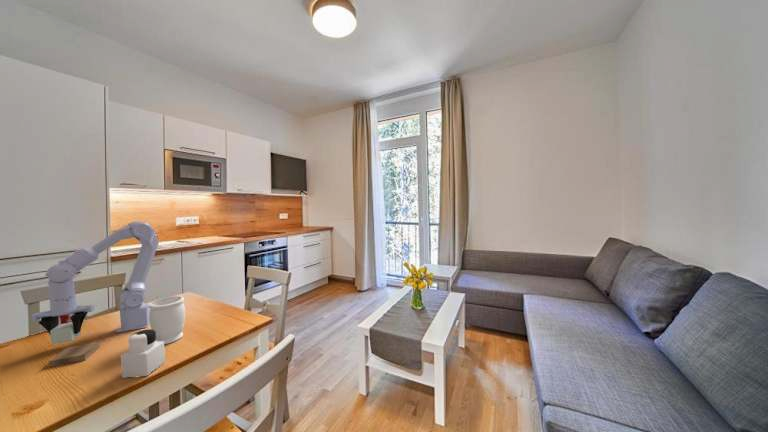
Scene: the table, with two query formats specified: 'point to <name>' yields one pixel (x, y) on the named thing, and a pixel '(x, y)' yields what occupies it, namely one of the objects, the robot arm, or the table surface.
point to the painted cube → (63, 333)
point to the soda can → (64, 319)
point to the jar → (167, 318)
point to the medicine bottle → (142, 354)
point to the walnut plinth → (74, 354)
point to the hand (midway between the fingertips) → (66, 334)
